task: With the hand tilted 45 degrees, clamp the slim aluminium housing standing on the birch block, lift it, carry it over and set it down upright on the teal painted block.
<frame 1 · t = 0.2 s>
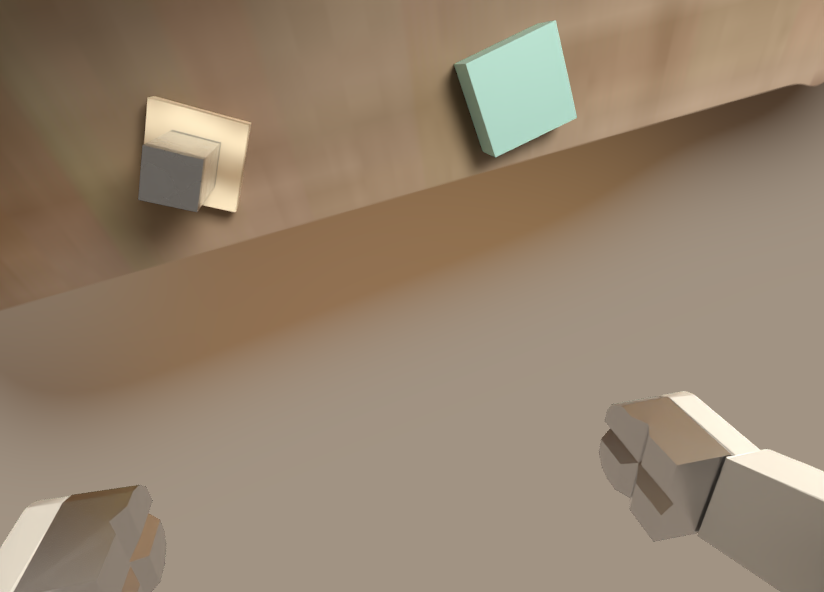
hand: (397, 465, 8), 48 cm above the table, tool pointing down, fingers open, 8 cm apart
stand A: (199, 154, 49), on the table
stand B: (508, 90, 53), on the table
housing: (194, 158, 46), point 2 cm above the table, touching stand A
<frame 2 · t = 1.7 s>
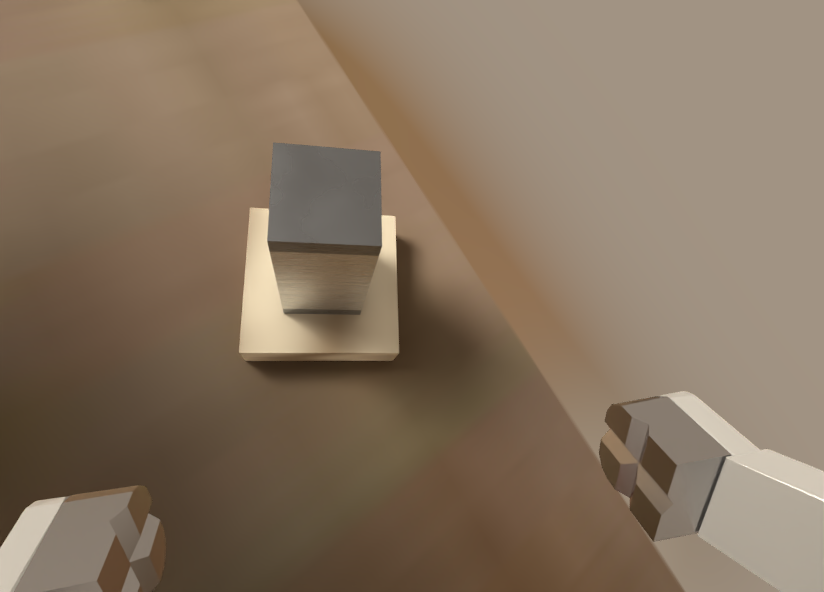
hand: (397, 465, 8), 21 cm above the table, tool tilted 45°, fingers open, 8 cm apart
stand A: (322, 292, 31), on the table
housing: (323, 279, 28), point 2 cm above the table, touching stand A
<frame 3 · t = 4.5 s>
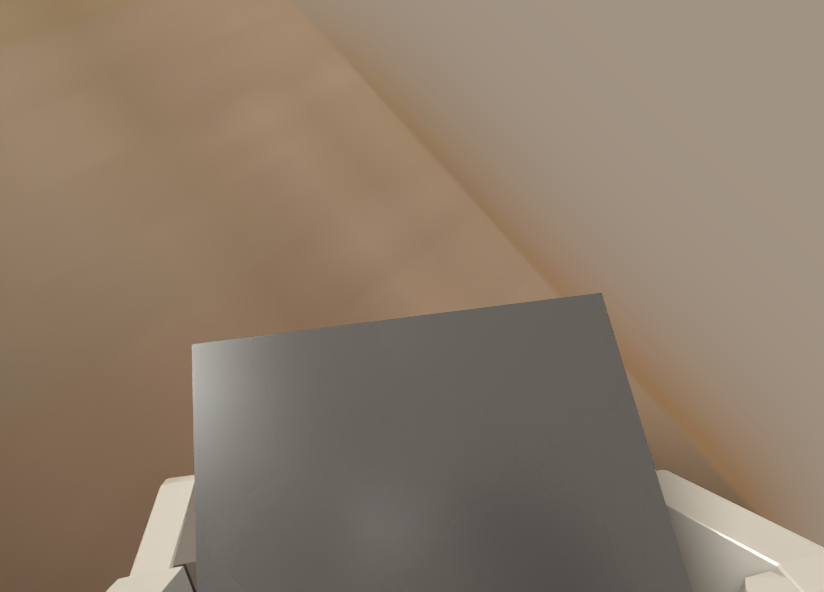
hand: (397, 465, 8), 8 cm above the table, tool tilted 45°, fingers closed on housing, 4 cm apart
housing: (382, 485, 14), point 2 cm above the table, touching gripper, stand A
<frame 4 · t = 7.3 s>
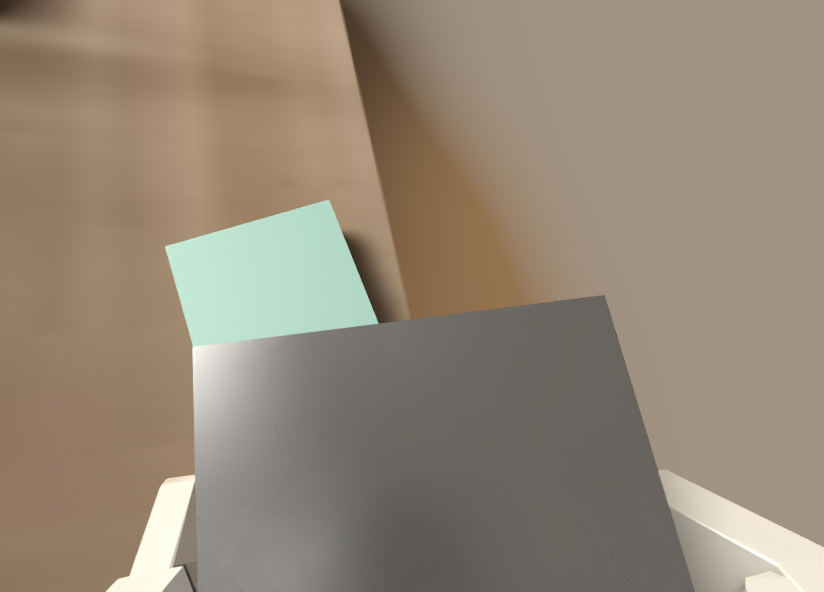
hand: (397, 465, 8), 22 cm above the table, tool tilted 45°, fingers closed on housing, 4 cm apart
stand B: (284, 314, 31), on the table
housing: (382, 486, 14), point 16 cm above the table, touching gripper
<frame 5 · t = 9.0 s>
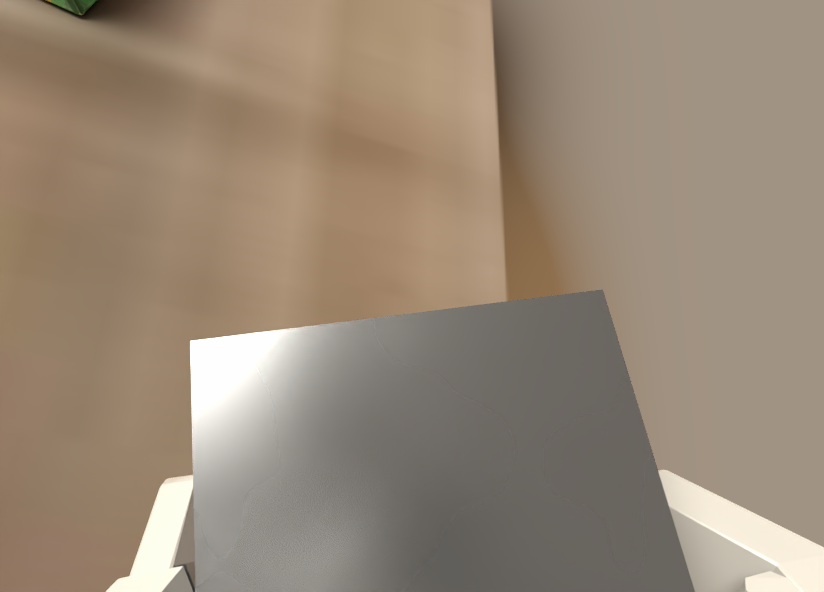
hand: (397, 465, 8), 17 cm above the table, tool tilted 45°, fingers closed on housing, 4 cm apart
housing: (382, 484, 14), point 11 cm above the table, touching gripper
when the fingers open (11 cm above the table, at t = 10.4 s): housing stays where it is, resting on stand B.
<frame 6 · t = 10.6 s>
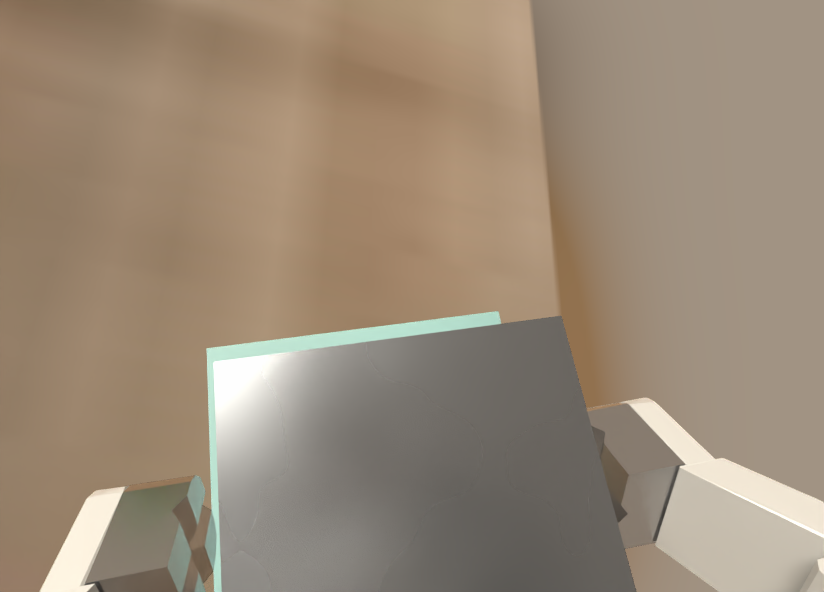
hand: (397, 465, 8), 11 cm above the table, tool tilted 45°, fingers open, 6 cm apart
stand B: (374, 478, 18), on the table
housing: (378, 483, 15), point 4 cm above the table, touching stand B
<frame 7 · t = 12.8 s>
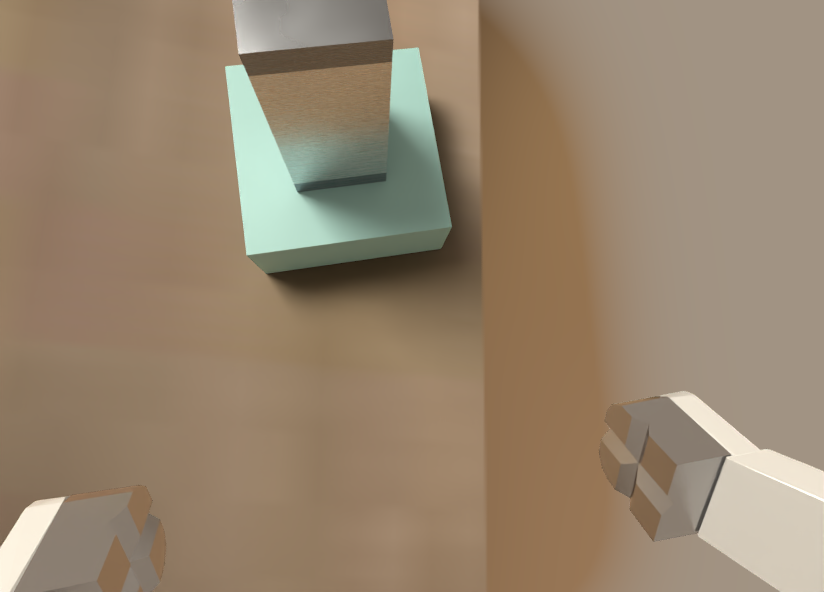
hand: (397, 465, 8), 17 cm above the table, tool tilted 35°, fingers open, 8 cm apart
stand B: (342, 178, 28), on the table
housing: (336, 145, 24), point 4 cm above the table, touching stand B
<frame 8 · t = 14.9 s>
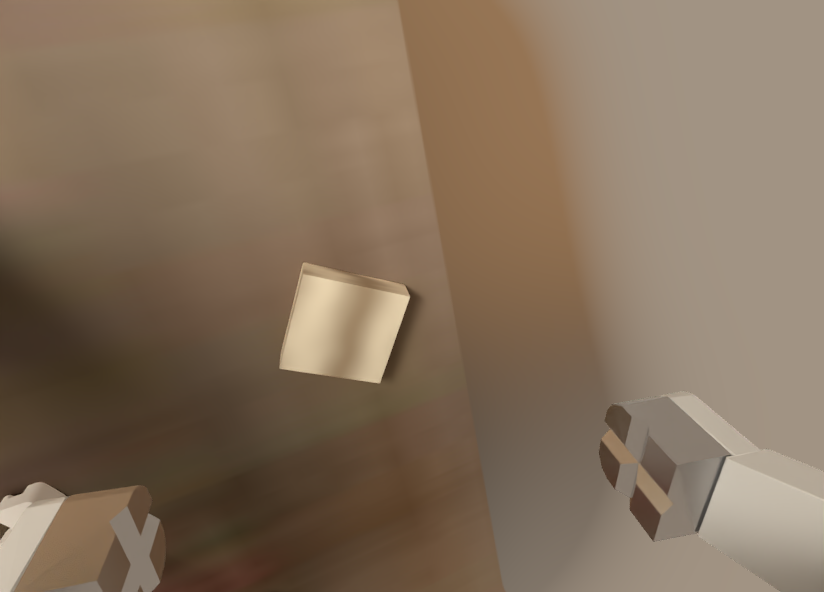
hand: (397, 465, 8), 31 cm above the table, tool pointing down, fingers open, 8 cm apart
stand A: (342, 318, 42), on the table
joystick: (50, 526, 46), on the table
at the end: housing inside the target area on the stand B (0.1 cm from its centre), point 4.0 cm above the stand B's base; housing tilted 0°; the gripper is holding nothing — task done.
